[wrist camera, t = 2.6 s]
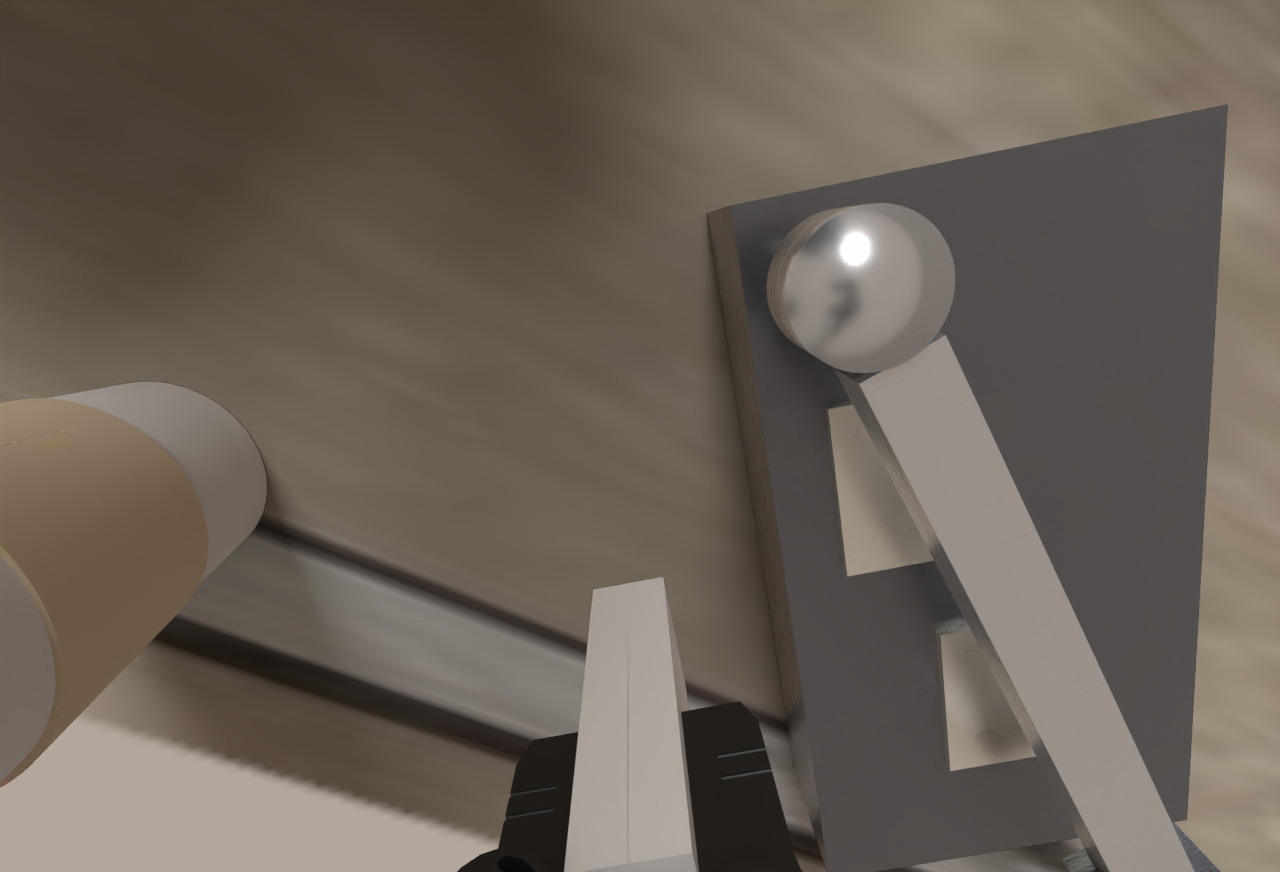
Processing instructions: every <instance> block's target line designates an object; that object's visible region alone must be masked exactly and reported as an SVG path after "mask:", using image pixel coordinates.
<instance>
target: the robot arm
mask: <svg viewBox="0 0 1280 872" xmlns="http://www.w3.org/2000/svg"><path fill="white" fill-rule="evenodd" d="M510 793H511V798H509V802H508V806H507V811H506V821H504V825H503V829H502V834H501V838H500V843H499V848H498V849H496V850H493V851H490V852H487V853H484V854H481V855H479V856H478V857H476V858H475V859H473V860H472V861H470V862H469V863H467V864H466V865H464V866H463V867H461V868H460V870H459V871H457V872H802V870H801V869H800V866H799V864H798V862H797V859H796V857H795V854H794V851H793V847H792V843H791V840H790V836H789V832H788V829H787V825H786V821H785V818H784V814H783V810H782V807H781V803H780V799H779V796H778V792H777V788H776V785H775V781H774V778H773V774H772V771H771V767H770V763H769V759H768V756H767V752H766V749H765V745H764V741H763V737H762V734H761V730H760V726H759V723H758V720H757V719H756V718H755V717H754V716H753V715H752V714H751V713H750V712H749V711H748V710H747V709H746V708H745V707H744V706H743V704H742V703H741V702H735V703H729V704H723V705H718V706H712V707H706V708H701V709H695V710H689V707H688V700H687V692H686V685H685V680H684V675H683V670H682V666H681V661H680V656H679V651H678V646H677V641H676V636H675V631H674V627H673V622H672V617H671V612H670V607H669V602H668V597H667V592H666V588H665V583H664V578H663V577H660V578H654V579H649V580H643V581H638V582H632V583H627V584H622V585H616V586H611V587H605V588H600V589H594V590H593V597H592V606H591V616H590V626H589V635H588V645H587V655H586V664H585V674H584V683H583V693H582V703H581V712H580V722H579V732H576V733H571V734H565V735H559V736H554V737H548V738H542V739H537V740H533V741H532V743H531V744H530V746H529V747H528V749H527V750H526V752H525V753H524V755H523V756H522V758H521V759H520V761H519V762H518V764H517V765H516V769H515V774H514V779H513V783H512V788H511V792H510Z"/></svg>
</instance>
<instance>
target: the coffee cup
mask: <svg viewBox="0 0 1280 872" xmlns="http://www.w3.org/2000/svg"><path fill="white" fill-rule="evenodd" d="M266 497H267V479H266V472H265V468H264V464H263V461H262V458H261V456H260V453H259V451H258V449H257V447H256V445H255V443H254V442H253V440H252V438H251V437H250V435H249V434H248V432H247V431H246V430H245V429H244V427H243V426H242V425H241V424H240V423H239V422H238V421H237V420H236V419H235V418H234V417H233V416H232V415H231V414H230V413H229V412H228V411H227V410H225V409H224V408H223V407H221V406H220V405H219V404H217V403H216V402H214V401H212V400H211V399H209V398H207V397H206V396H204V395H202V394H199V393H197V392H195V391H193V390H190V389H187V388H184V387H181V386H177V385H173V384H168V383H162V382H135V383H128V384H122V385H117V386H111V387H106V388H100V389H95V390H89V391H84V392H78V393H73V394H67V395H62V396H56V397H51V398H31V399H20V400H13V401H6V402H0V787H2V786H4V785H5V784H7V783H9V782H10V781H12V780H13V779H15V778H16V777H17V776H18V775H20V774H21V773H23V772H24V771H25V770H26V769H27V768H28V767H29V766H30V765H31V764H32V763H33V762H34V761H35V760H36V759H37V758H38V757H39V756H40V755H41V754H42V753H43V752H44V751H45V750H46V749H47V748H48V747H49V746H50V745H51V744H52V743H53V742H54V740H55V739H57V737H58V736H59V735H60V734H61V733H62V732H63V731H64V730H65V729H66V728H67V727H68V726H69V725H70V724H71V723H72V722H73V721H74V720H75V719H76V718H77V717H78V716H79V715H80V714H81V713H82V712H83V711H84V710H85V709H86V708H87V707H88V706H89V705H90V703H91V702H92V701H93V700H94V699H95V698H96V697H97V696H98V695H99V694H100V693H101V692H102V691H103V690H104V689H105V688H106V687H107V686H108V685H109V684H110V683H111V682H112V681H113V680H114V679H115V678H116V677H117V676H118V675H119V674H120V673H121V672H122V671H123V670H124V668H125V667H126V666H127V665H128V664H129V663H130V662H131V661H132V660H133V659H134V658H135V657H136V656H137V655H138V654H139V653H140V652H141V651H142V650H143V649H144V648H145V647H146V646H147V645H148V644H149V643H150V642H151V641H152V640H153V639H154V638H155V637H156V636H157V634H158V633H159V632H160V631H161V630H162V629H163V628H164V627H165V626H166V625H167V624H168V623H169V622H170V621H171V620H172V619H173V618H174V617H175V616H176V615H177V614H178V613H179V612H180V611H181V610H182V609H183V608H184V607H185V606H186V604H187V603H188V602H189V601H190V600H191V598H192V597H193V595H194V594H195V592H196V590H197V589H198V587H199V585H200V584H201V583H202V582H203V581H204V580H205V579H206V578H207V577H208V576H209V575H210V574H211V573H212V572H213V571H214V570H215V569H216V568H217V567H218V566H219V565H220V564H221V563H222V562H223V561H224V560H225V559H226V558H227V557H228V556H229V555H230V554H231V553H232V552H233V551H234V550H235V549H236V548H237V547H238V546H239V545H240V544H241V543H242V542H243V541H244V540H245V539H246V538H247V537H248V536H249V535H250V534H251V533H252V532H253V530H254V529H255V527H256V526H257V524H258V522H259V520H260V518H261V516H262V513H263V511H264V507H265V503H266Z"/></svg>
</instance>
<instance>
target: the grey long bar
mask: <svg viewBox="0 0 1280 872" xmlns="http://www.w3.org/2000/svg"><path fill="white" fill-rule="evenodd" d="M766 289H767V300H768V305H769V309H770V312H771V315H772V317H773V319H774V321H775V323H776V324H777V326H778V328H779V329H780V330H781V331H782V333H783V334H784V335H785V336H786V337H787V338H788V339H789V340H790V341H792V342H793V343H794V344H796V345H797V346H799V347H801V348H802V349H804V350H805V351H807V352H809V353H810V354H812V355H813V356H815V357H816V358H818V359H820V360H821V361H823V362H824V363H826V364H828V365H830V366H832V367H834V370H835V371H836V373H837V375H838V377H839V379H840V381H841V383H842V385H843V387H844V389H845V391H846V393H847V394H848V396H849V398H850V400H851V402H852V404H853V406H854V408H855V410H856V412H857V414H858V416H859V417H860V419H861V421H862V423H863V425H864V427H865V429H866V431H867V433H868V435H869V437H870V439H871V440H872V442H873V444H874V446H875V448H876V450H877V452H878V454H879V456H880V458H881V460H882V462H883V463H884V465H885V467H886V469H887V471H888V473H889V475H890V477H891V479H892V481H893V483H894V485H895V486H896V488H897V490H898V492H899V494H900V496H901V498H902V500H903V502H904V504H905V506H906V508H907V509H908V511H909V513H910V515H911V517H912V519H913V521H914V523H915V525H916V527H917V529H918V531H919V532H920V534H921V536H922V538H923V540H924V542H925V544H926V546H927V548H928V550H929V552H930V554H931V556H932V557H933V559H934V561H935V563H936V565H937V567H938V569H939V571H940V573H941V575H942V577H943V579H944V580H945V582H946V584H947V586H948V588H949V590H950V592H951V594H952V596H953V598H954V600H955V602H956V603H957V605H958V607H959V609H960V611H961V613H962V615H963V617H964V619H965V621H966V623H967V625H968V626H969V628H970V630H971V632H972V634H973V636H974V638H975V640H976V642H977V644H978V646H979V648H980V649H981V651H982V653H983V655H984V657H985V659H986V661H987V663H988V665H989V667H990V669H991V671H992V672H993V674H994V676H995V678H996V680H997V682H998V684H999V686H1000V688H1001V690H1002V692H1003V694H1004V695H1005V697H1006V699H1007V701H1008V703H1009V705H1010V707H1011V709H1012V711H1013V713H1014V715H1015V717H1016V718H1017V720H1018V722H1019V724H1020V726H1021V728H1022V730H1023V732H1024V734H1025V736H1026V738H1027V740H1028V741H1029V743H1030V745H1031V747H1032V749H1033V751H1034V753H1035V755H1036V757H1037V759H1038V761H1039V763H1040V765H1041V766H1042V768H1043V770H1044V772H1045V774H1046V776H1047V778H1048V780H1049V782H1050V784H1051V786H1052V788H1053V789H1054V791H1055V793H1056V795H1057V797H1058V799H1059V801H1060V803H1061V805H1062V807H1063V809H1064V811H1065V812H1066V814H1067V816H1068V818H1069V820H1070V822H1071V824H1072V826H1073V828H1074V830H1075V832H1076V834H1077V835H1078V837H1079V839H1080V841H1081V843H1082V845H1083V847H1084V849H1082V850H1080V851H1078V852H1076V853H1073V854H1071V855H1069V856H1066V857H1064V858H1063V860H1064V862H1065V864H1066V866H1067V868H1068V870H1069V871H1070V872H1220V871H1219V870H1218V869H1217V868H1216V867H1215V866H1214V865H1213V864H1212V863H1211V861H1210V860H1209V859H1208V858H1207V857H1206V856H1205V855H1204V854H1203V853H1202V852H1201V851H1200V850H1199V849H1198V848H1197V847H1196V845H1195V844H1194V843H1193V842H1192V841H1191V840H1190V839H1189V838H1188V837H1187V836H1186V835H1185V834H1184V833H1183V832H1182V831H1181V829H1180V828H1179V827H1178V826H1177V825H1176V824H1175V823H1174V822H1173V821H1172V820H1171V819H1170V818H1169V816H1168V813H1167V811H1166V809H1165V807H1164V805H1163V803H1162V801H1161V798H1160V796H1159V794H1158V792H1157V790H1156V788H1155V785H1154V783H1153V781H1152V779H1151V777H1150V775H1149V772H1148V770H1147V768H1146V766H1145V764H1144V762H1143V760H1142V757H1141V755H1140V753H1139V751H1138V749H1137V747H1136V744H1135V742H1134V740H1133V738H1132V736H1131V734H1130V731H1129V729H1128V727H1127V725H1126V723H1125V721H1124V719H1123V716H1122V714H1121V712H1120V710H1119V708H1118V706H1117V703H1116V701H1115V699H1114V697H1113V695H1112V693H1111V690H1110V688H1109V686H1108V684H1107V682H1106V680H1105V677H1104V675H1103V673H1102V671H1101V669H1100V667H1099V665H1098V662H1097V660H1096V658H1095V656H1094V654H1093V652H1092V649H1091V647H1090V645H1089V643H1088V641H1087V639H1086V636H1085V634H1084V632H1083V630H1082V628H1081V626H1080V624H1079V621H1078V619H1077V617H1076V615H1075V613H1074V611H1073V608H1072V606H1071V604H1070V602H1069V600H1068V598H1067V595H1066V593H1065V591H1064V589H1063V587H1062V585H1061V583H1060V580H1059V578H1058V576H1057V574H1056V572H1055V570H1054V567H1053V565H1052V563H1051V561H1050V559H1049V557H1048V554H1047V552H1046V550H1045V548H1044V546H1043V544H1042V542H1041V539H1040V537H1039V535H1038V533H1037V531H1036V529H1035V526H1034V524H1033V522H1032V520H1031V518H1030V516H1029V513H1028V511H1027V509H1026V507H1025V505H1024V503H1023V501H1022V498H1021V496H1020V494H1019V492H1018V490H1017V488H1016V485H1015V483H1014V481H1013V479H1012V477H1011V475H1010V472H1009V470H1008V468H1007V466H1006V464H1005V462H1004V460H1003V457H1002V455H1001V453H1000V451H999V449H998V447H997V444H996V442H995V440H994V438H993V436H992V434H991V431H990V429H989V427H988V425H987V423H986V421H985V419H984V416H983V414H982V412H981V410H980V408H979V406H978V403H977V401H976V399H975V397H974V395H973V393H972V390H971V388H970V386H969V384H968V382H967V380H966V378H965V375H964V373H963V371H962V369H961V367H960V365H959V362H958V360H957V358H956V356H955V354H954V352H953V349H952V347H951V345H950V343H949V341H948V339H947V337H946V335H944V334H941V333H938V332H939V331H940V329H941V327H942V326H943V324H944V322H945V320H946V318H947V316H948V314H949V311H950V308H951V305H952V302H953V297H954V291H955V267H954V263H953V258H952V255H951V252H950V249H949V246H948V245H947V243H946V241H945V239H944V237H943V236H942V234H941V233H940V232H939V230H938V229H937V228H936V227H935V226H934V225H933V224H932V223H931V222H930V221H929V220H928V219H926V218H925V217H924V216H922V215H921V214H919V213H917V212H916V211H914V210H912V209H909V208H906V207H904V206H900V205H895V204H890V203H873V204H864V205H857V206H850V207H843V208H836V209H830V210H826V211H822V212H820V213H817V214H814V215H812V216H811V217H809V218H807V219H805V220H804V221H802V222H801V223H799V224H798V225H797V226H796V227H794V228H793V229H792V230H791V231H790V232H789V233H788V234H787V235H786V237H785V238H784V239H783V240H782V242H781V243H780V245H779V246H778V248H777V250H776V252H775V254H774V256H773V258H772V261H771V263H770V266H769V271H768V275H767V284H766Z"/></svg>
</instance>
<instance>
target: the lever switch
mask: <svg viewBox="0 0 1280 872" xmlns="http://www.w3.org/2000/svg"><path fill="white" fill-rule="evenodd" d="M1227 110H1228V104H1227V105H1222V106H1217V107H1212V108H1207V109H1203V110H1198V111H1193V112H1188V113H1183V114H1178V115H1173V116H1168V117H1163V118H1158V119H1154V120H1149V121H1144V122H1139V123H1134V124H1129V125H1124V126H1119V127H1114V128H1109V129H1105V130H1100V131H1095V132H1090V133H1085V134H1080V135H1075V136H1070V137H1065V138H1060V139H1055V140H1051V141H1046V142H1041V143H1036V144H1031V145H1026V146H1021V147H1016V148H1011V149H1006V150H1002V151H997V152H992V153H987V154H982V155H977V156H972V157H967V158H962V159H957V160H952V161H948V162H943V163H938V164H933V165H928V166H923V167H918V168H913V169H908V170H903V171H899V172H894V173H889V174H884V175H879V176H874V177H869V178H864V179H859V180H854V181H849V182H845V183H840V184H835V185H830V186H825V187H820V188H815V189H810V190H805V191H800V192H796V193H791V194H786V195H781V196H776V197H771V198H766V199H761V200H756V201H751V202H746V203H742V204H737V205H732V206H728V207H725V208H722V209H719V210H715V211H712V212H709V213H707V217H708V223H709V230H710V236H711V243H712V249H713V255H714V262H715V268H716V274H717V281H718V287H719V294H720V300H721V306H722V313H723V319H724V326H725V332H726V338H727V345H728V351H729V357H730V364H731V370H732V377H733V383H734V389H735V396H736V402H737V408H738V415H739V421H740V428H741V434H742V440H743V447H744V453H745V460H746V466H747V472H748V479H749V485H750V491H751V498H752V504H753V511H754V517H755V523H756V530H757V536H758V543H759V549H760V555H761V562H762V568H763V574H764V581H765V587H766V594H767V600H768V606H769V613H770V619H771V625H772V632H773V638H774V645H775V651H776V657H777V664H778V670H779V677H780V683H781V689H782V696H783V702H784V708H785V715H786V721H787V728H788V734H789V740H790V747H791V753H792V760H793V766H794V769H795V773H796V776H797V779H798V782H799V785H800V788H801V791H802V795H803V798H804V801H805V804H806V807H807V810H808V814H809V817H810V820H811V823H812V826H813V829H814V832H815V836H816V839H817V842H818V845H819V848H820V851H821V854H822V858H823V861H824V864H825V867H826V870H827V872H876V871H882V870H888V869H894V868H900V867H906V866H912V865H918V864H924V863H930V862H936V861H942V860H948V859H954V858H960V857H966V856H972V855H978V854H984V853H990V852H996V851H1002V850H1009V849H1015V848H1021V847H1027V846H1033V845H1039V844H1045V843H1051V842H1057V841H1063V840H1069V839H1075V838H1079V837H1078V835H1077V834H1076V832H1075V830H1074V828H1073V826H1072V824H1071V822H1070V820H1069V818H1068V816H1067V814H1066V812H1065V811H1064V809H1063V807H1062V805H1061V803H1060V801H1059V799H1058V797H1057V795H1056V793H1055V791H1054V789H1053V788H1052V786H1051V784H1050V782H1049V780H1048V778H1047V776H1046V774H1045V772H1044V770H1043V768H1042V766H1041V765H1040V763H1039V761H1038V759H1037V757H1036V755H1035V753H1034V751H1033V749H1032V747H1031V745H1030V743H1029V741H1028V740H1027V738H1026V736H1025V734H1024V732H1023V730H1022V728H1021V726H1020V724H1019V722H1018V720H1017V718H1016V717H1015V715H1014V713H1013V711H1012V709H1011V707H1010V705H1009V703H1008V701H1007V699H1006V697H1005V695H1004V694H1003V692H1002V690H1001V688H1000V686H999V684H998V682H997V680H996V678H995V676H994V674H993V672H992V671H991V669H990V667H989V665H988V663H987V661H986V659H985V657H984V655H983V653H982V651H981V649H980V648H979V646H978V644H977V642H976V640H975V638H974V636H973V634H972V632H971V630H970V628H969V626H968V625H967V623H966V621H965V619H964V617H963V615H962V613H961V611H960V609H959V607H958V605H957V603H956V602H955V600H954V598H953V596H952V594H951V592H950V590H949V588H948V586H947V584H946V582H945V580H944V579H943V577H942V575H941V573H940V571H939V569H938V567H937V565H936V563H935V561H934V559H933V557H932V556H931V554H930V552H929V550H928V548H927V546H926V544H925V542H924V540H923V538H922V536H921V534H920V532H919V531H918V529H917V527H916V525H915V523H914V521H913V519H912V517H911V515H910V513H909V511H908V509H907V508H906V506H905V504H904V502H903V500H902V498H901V496H900V494H899V492H898V490H897V488H896V486H895V485H894V483H893V481H892V479H891V477H890V475H889V473H888V471H887V469H886V467H885V465H884V463H883V462H882V460H881V458H880V456H879V454H878V452H877V450H876V448H875V446H874V444H873V442H872V440H871V439H870V437H869V435H868V433H867V431H866V429H865V427H864V425H863V423H862V421H861V419H860V417H859V416H858V414H857V412H856V410H855V408H854V406H853V404H852V402H851V400H850V398H849V396H848V394H847V393H846V391H845V389H844V387H843V385H842V383H841V381H840V379H839V377H838V375H837V373H836V371H835V370H834V367H832V366H830V365H828V364H826V363H824V362H823V361H821V360H820V359H818V358H816V357H815V356H813V355H812V354H810V353H809V352H807V351H805V350H804V349H802V348H801V347H799V346H797V345H796V344H794V343H793V342H792V341H790V340H789V339H788V338H787V337H786V336H785V335H784V334H783V333H782V331H781V330H780V329H779V328H778V326H777V324H776V323H775V321H774V319H773V317H772V315H771V312H770V309H769V305H768V300H767V289H766V284H767V275H768V271H769V266H770V263H771V261H772V258H773V256H774V254H775V252H776V250H777V248H778V246H779V245H780V243H781V242H782V240H783V239H784V238H785V237H786V235H787V234H788V233H789V232H790V231H791V230H792V229H793V228H794V227H796V226H797V225H798V224H799V223H801V222H802V221H804V220H805V219H807V218H809V217H811V216H812V215H814V214H817V213H820V212H822V211H826V210H830V209H836V208H843V207H850V206H857V205H864V204H873V203H890V204H895V205H900V206H904V207H906V208H909V209H912V210H914V211H916V212H917V213H919V214H921V215H922V216H924V217H925V218H926V219H928V220H929V221H930V222H931V223H932V224H933V225H934V226H935V227H936V228H937V229H938V230H939V232H940V233H941V234H942V236H943V237H944V239H945V241H946V243H947V245H948V246H949V249H950V252H951V255H952V258H953V263H954V267H955V291H954V297H953V302H952V305H951V308H950V311H949V314H948V316H947V318H946V320H945V322H944V324H943V326H942V327H941V329H940V331H939V332H938V333H941V334H944V335H946V337H947V339H948V341H949V343H950V345H951V347H952V349H953V352H954V354H955V356H956V358H957V360H958V362H959V365H960V367H961V369H962V371H963V373H964V375H965V378H966V380H967V382H968V384H969V386H970V388H971V390H972V393H973V395H974V397H975V399H976V401H977V403H978V406H979V408H980V410H981V412H982V414H983V416H984V419H985V421H986V423H987V425H988V427H989V429H990V431H991V434H992V436H993V438H994V440H995V442H996V444H997V447H998V449H999V451H1000V453H1001V455H1002V457H1003V460H1004V462H1005V464H1006V466H1007V468H1008V470H1009V472H1010V475H1011V477H1012V479H1013V481H1014V483H1015V485H1016V488H1017V490H1018V492H1019V494H1020V496H1021V498H1022V501H1023V503H1024V505H1025V507H1026V509H1027V511H1028V513H1029V516H1030V518H1031V520H1032V522H1033V524H1034V526H1035V529H1036V531H1037V533H1038V535H1039V537H1040V539H1041V542H1042V544H1043V546H1044V548H1045V550H1046V552H1047V554H1048V557H1049V559H1050V561H1051V563H1052V565H1053V567H1054V570H1055V572H1056V574H1057V576H1058V578H1059V580H1060V583H1061V585H1062V587H1063V589H1064V591H1065V593H1066V595H1067V598H1068V600H1069V602H1070V604H1071V606H1072V608H1073V611H1074V613H1075V615H1076V617H1077V619H1078V621H1079V624H1080V626H1081V628H1082V630H1083V632H1084V634H1085V636H1086V639H1087V641H1088V643H1089V645H1090V647H1091V649H1092V652H1093V654H1094V656H1095V658H1096V660H1097V662H1098V665H1099V667H1100V669H1101V671H1102V673H1103V675H1104V677H1105V680H1106V682H1107V684H1108V686H1109V688H1110V690H1111V693H1112V695H1113V697H1114V699H1115V701H1116V703H1117V706H1118V708H1119V710H1120V712H1121V714H1122V716H1123V719H1124V721H1125V723H1126V725H1127V727H1128V729H1129V731H1130V734H1131V736H1132V738H1133V740H1134V742H1135V744H1136V747H1137V749H1138V751H1139V753H1140V755H1141V757H1142V760H1143V762H1144V764H1145V766H1146V768H1147V770H1148V772H1149V775H1150V777H1151V779H1152V781H1153V783H1154V785H1155V788H1156V790H1157V792H1158V794H1159V796H1160V798H1161V801H1162V803H1163V805H1164V807H1165V809H1166V811H1167V813H1168V816H1169V818H1170V819H1171V820H1172V821H1173V822H1177V821H1183V820H1187V811H1188V794H1189V776H1190V759H1191V741H1192V723H1193V706H1194V688H1195V671H1196V653H1197V636H1198V618H1199V601H1200V583H1201V566H1202V548H1203V531H1204V513H1205V496H1206V478H1207V461H1208V443H1209V426H1210V408H1211V391H1212V373H1213V356H1214V338H1215V321H1216V303H1217V286H1218V268H1219V251H1220V233H1221V215H1222V198H1223V180H1224V163H1225V145H1226V128H1227Z"/></svg>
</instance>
